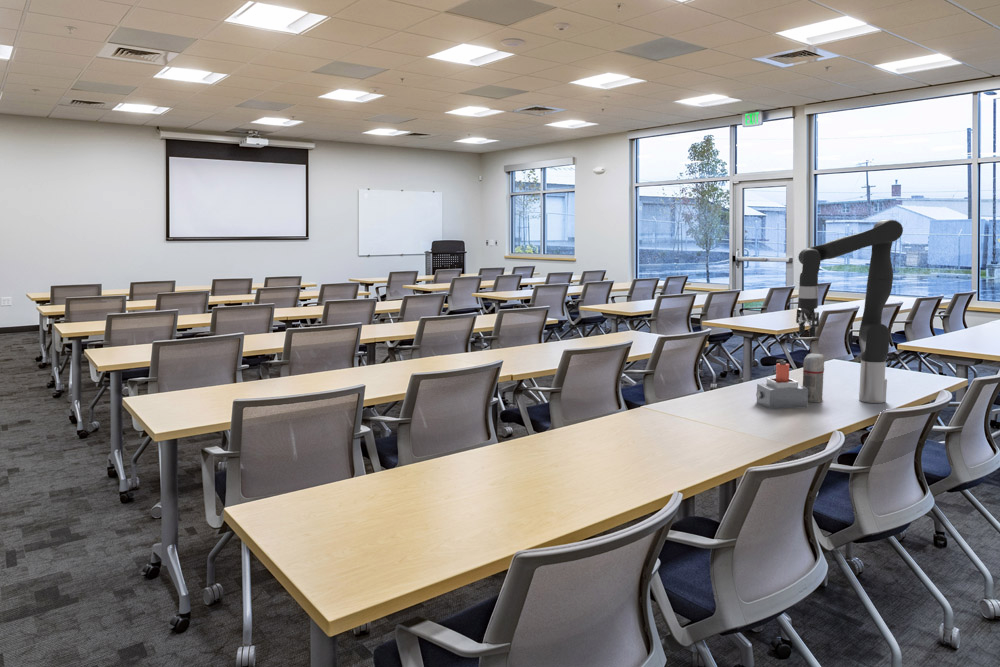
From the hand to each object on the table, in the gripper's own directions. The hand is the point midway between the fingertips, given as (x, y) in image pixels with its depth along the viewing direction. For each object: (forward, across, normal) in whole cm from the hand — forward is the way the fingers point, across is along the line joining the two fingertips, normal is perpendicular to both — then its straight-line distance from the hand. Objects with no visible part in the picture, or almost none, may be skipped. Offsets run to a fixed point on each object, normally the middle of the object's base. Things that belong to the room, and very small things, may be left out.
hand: (806, 335), depth 299 cm
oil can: (+20, -6, +13) cm, 24 cm away
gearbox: (+28, -6, +13) cm, 31 cm away
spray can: (+28, -1, -3) cm, 28 cm away
